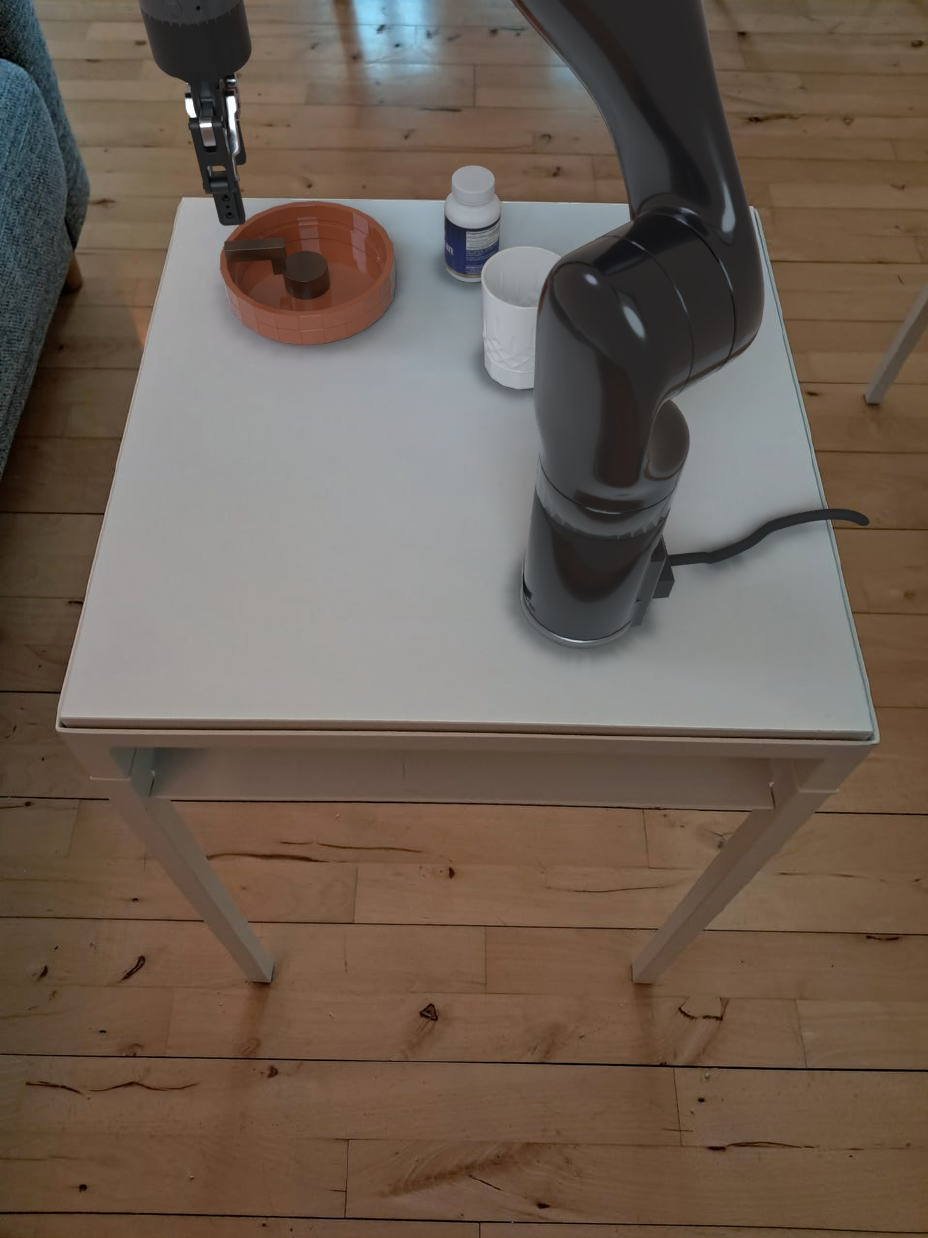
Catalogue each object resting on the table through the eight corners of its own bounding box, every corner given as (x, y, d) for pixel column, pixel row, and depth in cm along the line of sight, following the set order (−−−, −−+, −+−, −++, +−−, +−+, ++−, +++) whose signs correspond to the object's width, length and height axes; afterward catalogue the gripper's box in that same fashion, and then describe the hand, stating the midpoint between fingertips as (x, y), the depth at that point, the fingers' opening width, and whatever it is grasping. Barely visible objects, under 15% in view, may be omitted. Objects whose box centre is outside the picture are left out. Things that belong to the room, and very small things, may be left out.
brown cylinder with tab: (329, 267, 93) (323, 224, 89) (331, 297, 91) (325, 254, 87) (234, 273, 93) (224, 230, 88) (234, 304, 91) (223, 261, 86)
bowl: (389, 230, 97) (387, 196, 94) (401, 342, 89) (400, 309, 86) (229, 240, 96) (221, 205, 93) (227, 354, 88) (218, 321, 84)
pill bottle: (437, 253, 96) (436, 165, 87) (488, 244, 96) (491, 155, 88) (453, 288, 93) (454, 200, 85) (505, 278, 94) (510, 190, 85)
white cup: (576, 381, 87) (590, 294, 78) (497, 404, 85) (503, 318, 77) (541, 325, 90) (551, 236, 82) (465, 346, 89) (467, 257, 80)
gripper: (240, 40, 65) (278, 241, 79) (241, -59, 72) (276, 141, 86) (130, 46, 65) (188, 247, 79) (143, -54, 72) (193, 146, 86)
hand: (234, 191), depth 82 cm, fingers open, 8 cm apart
